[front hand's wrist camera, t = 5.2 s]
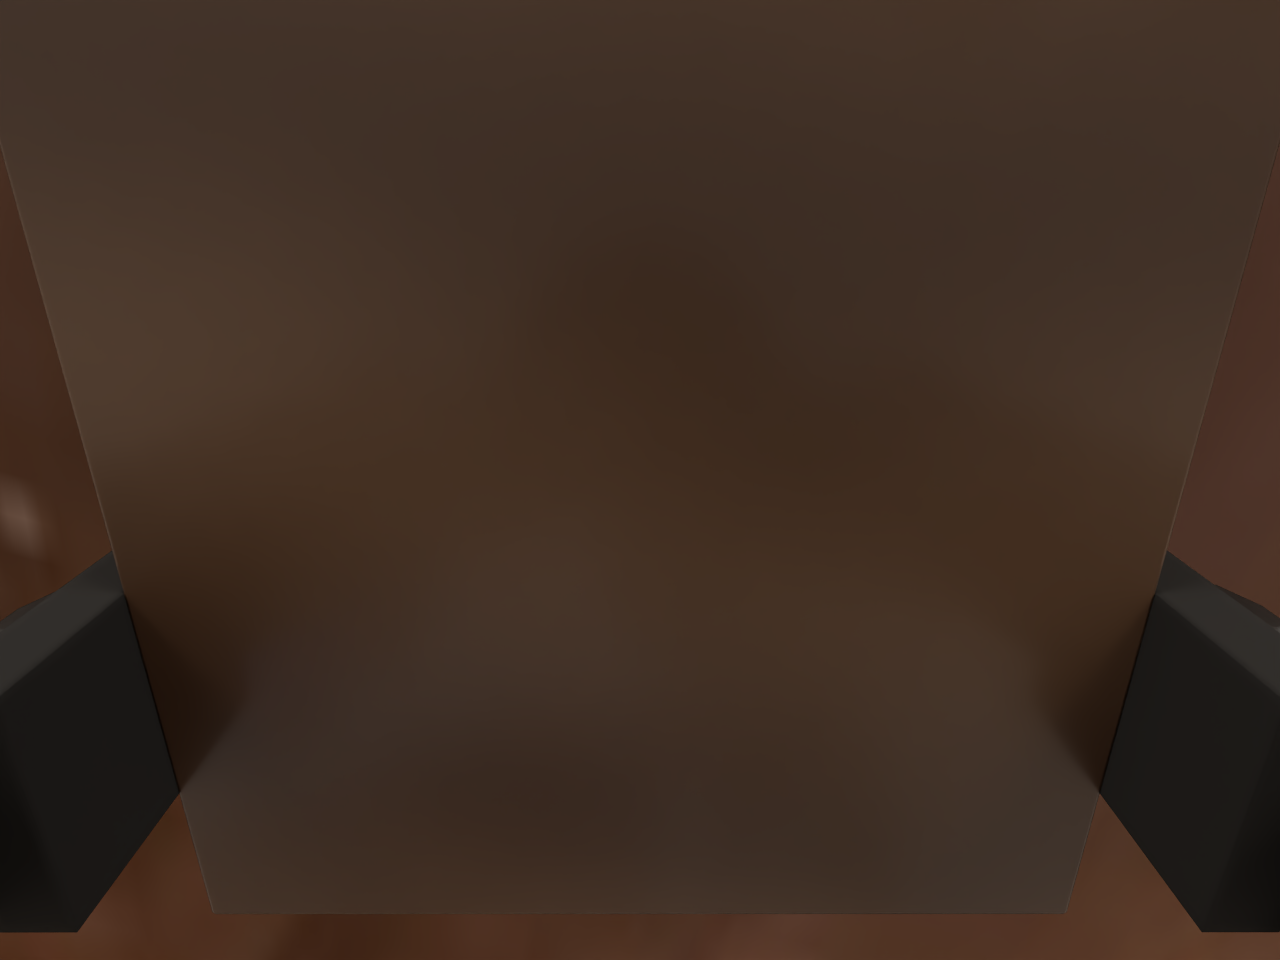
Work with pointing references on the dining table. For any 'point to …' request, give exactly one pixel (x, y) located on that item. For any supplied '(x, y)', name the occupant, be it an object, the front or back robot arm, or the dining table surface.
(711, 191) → the taupe rectangular block
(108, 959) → the dining table surface
